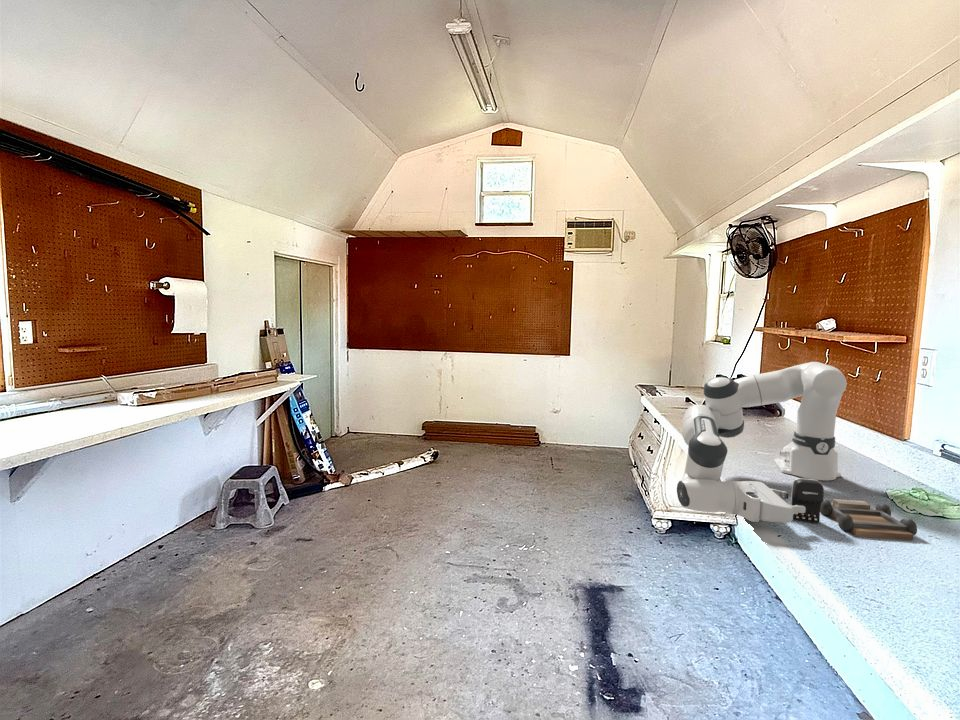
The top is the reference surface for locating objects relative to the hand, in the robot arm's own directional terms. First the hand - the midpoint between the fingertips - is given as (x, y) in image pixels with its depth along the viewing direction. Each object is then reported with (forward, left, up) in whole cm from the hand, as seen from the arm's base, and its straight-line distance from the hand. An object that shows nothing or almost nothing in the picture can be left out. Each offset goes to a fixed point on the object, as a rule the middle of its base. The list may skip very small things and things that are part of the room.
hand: (795, 501), depth 135 cm
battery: (-1, +3, -6) cm, 6 cm away
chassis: (-2, +18, -5) cm, 19 cm away
